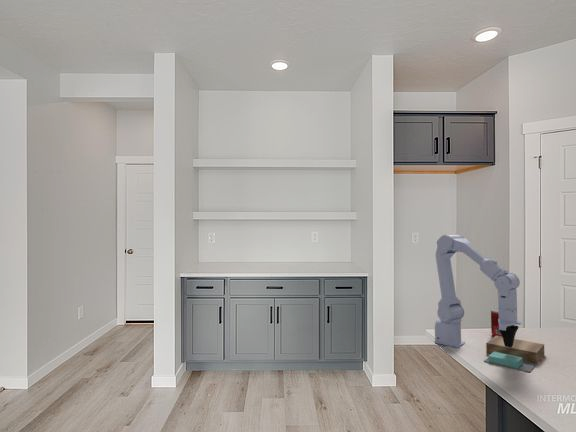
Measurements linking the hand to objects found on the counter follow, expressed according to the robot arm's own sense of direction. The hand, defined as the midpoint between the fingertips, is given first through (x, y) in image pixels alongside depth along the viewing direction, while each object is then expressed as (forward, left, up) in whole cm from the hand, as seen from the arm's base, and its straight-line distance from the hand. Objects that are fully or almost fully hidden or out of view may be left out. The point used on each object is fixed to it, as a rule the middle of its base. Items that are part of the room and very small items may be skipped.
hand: (508, 346), depth 133 cm
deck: (0, +8, -5) cm, 9 cm away
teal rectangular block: (0, -4, -3) cm, 5 cm away
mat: (+1, -3, -5) cm, 6 cm away
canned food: (-10, +29, -5) cm, 31 cm away
